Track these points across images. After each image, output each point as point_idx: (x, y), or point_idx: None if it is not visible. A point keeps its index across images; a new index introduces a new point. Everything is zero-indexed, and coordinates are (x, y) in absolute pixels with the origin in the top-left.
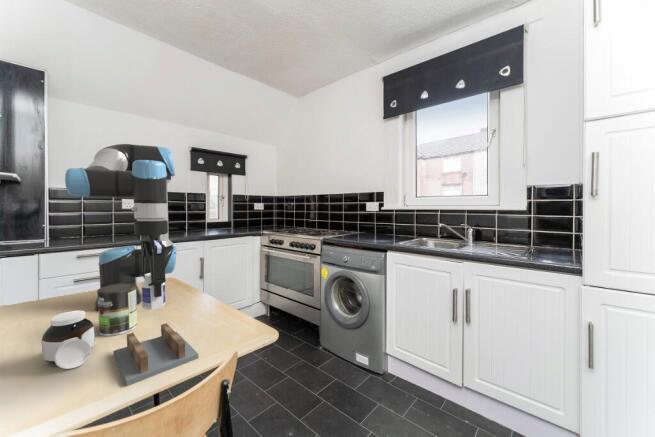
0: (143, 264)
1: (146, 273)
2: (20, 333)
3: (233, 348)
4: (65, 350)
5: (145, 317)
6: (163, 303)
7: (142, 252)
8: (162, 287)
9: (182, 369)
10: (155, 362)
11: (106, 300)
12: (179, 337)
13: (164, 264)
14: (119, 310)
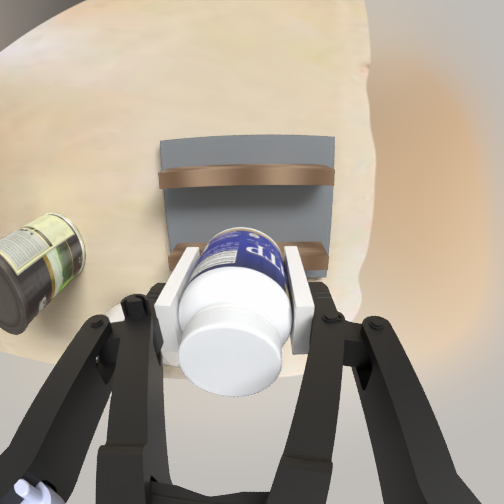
0: (104, 406)
1: (161, 372)
2: (33, 350)
3: (348, 60)
4: (169, 353)
5: (27, 191)
6: (274, 243)
7: (77, 475)
8: (310, 293)
9: (350, 180)
10: (299, 222)
11: (36, 313)
12: (293, 170)
13: (429, 404)
14: (52, 274)
